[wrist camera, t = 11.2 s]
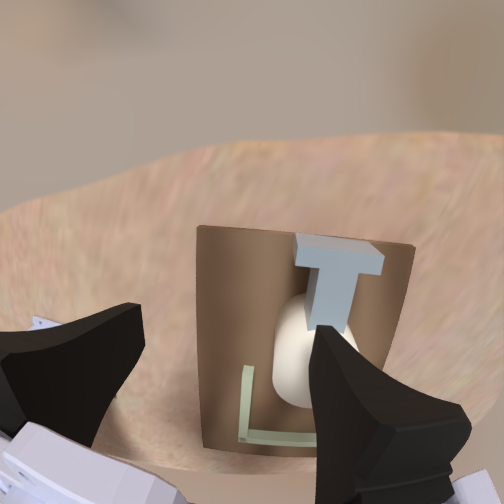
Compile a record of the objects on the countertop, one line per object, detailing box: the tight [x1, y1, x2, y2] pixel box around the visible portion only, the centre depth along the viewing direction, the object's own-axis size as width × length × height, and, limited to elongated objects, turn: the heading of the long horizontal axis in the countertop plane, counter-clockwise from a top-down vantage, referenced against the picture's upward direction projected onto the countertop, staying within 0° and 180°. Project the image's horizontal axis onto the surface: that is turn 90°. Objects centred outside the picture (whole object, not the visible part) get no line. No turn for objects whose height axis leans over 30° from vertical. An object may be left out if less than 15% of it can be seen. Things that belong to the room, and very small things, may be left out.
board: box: [196, 225, 416, 457], centre depth 22 cm, size 15×23×1 cm, turn 176°
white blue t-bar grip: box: [272, 232, 385, 408], centre depth 17 cm, size 9×5×6 cm, turn 174°
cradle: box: [238, 365, 317, 447], centre depth 22 cm, size 10×9×1 cm
